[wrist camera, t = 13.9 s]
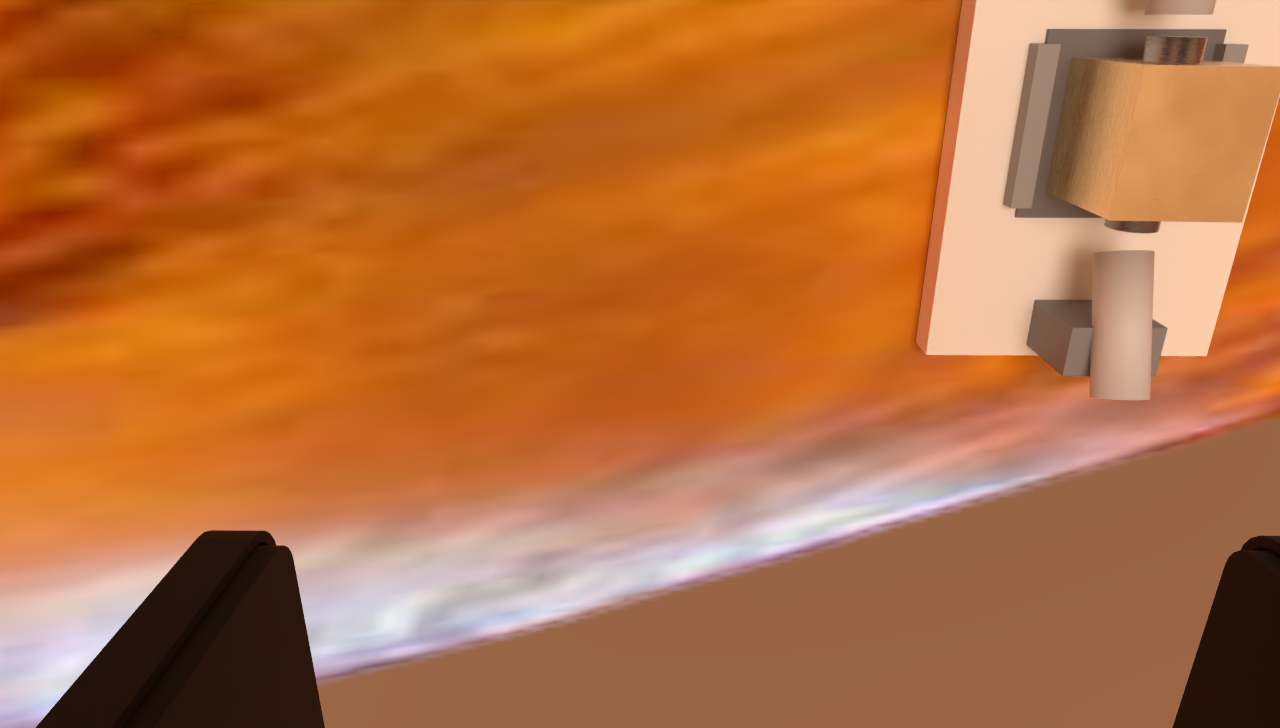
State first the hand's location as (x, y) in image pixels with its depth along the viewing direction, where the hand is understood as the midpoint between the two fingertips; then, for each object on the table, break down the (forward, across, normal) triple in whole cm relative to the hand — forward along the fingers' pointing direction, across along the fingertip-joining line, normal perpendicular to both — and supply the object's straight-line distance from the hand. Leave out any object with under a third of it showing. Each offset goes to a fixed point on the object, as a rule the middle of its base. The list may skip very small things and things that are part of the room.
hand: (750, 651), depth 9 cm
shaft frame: (+28, -17, -2) cm, 33 cm away
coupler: (+27, -17, -2) cm, 32 cm away
